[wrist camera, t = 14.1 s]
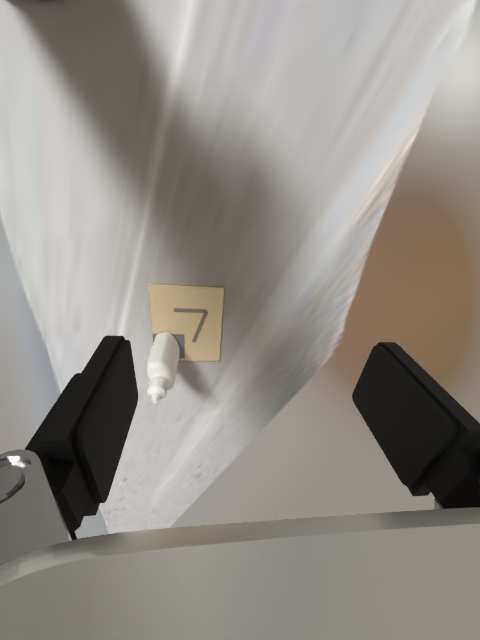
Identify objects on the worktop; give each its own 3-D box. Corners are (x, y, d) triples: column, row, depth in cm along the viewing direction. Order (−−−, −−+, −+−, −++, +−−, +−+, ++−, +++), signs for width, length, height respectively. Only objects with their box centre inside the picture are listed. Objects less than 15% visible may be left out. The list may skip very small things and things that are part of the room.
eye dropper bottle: (152, 355, 44) (133, 414, 33) (157, 328, 41) (139, 383, 31) (178, 360, 45) (168, 418, 34) (184, 334, 42) (176, 388, 32)
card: (148, 283, 37) (147, 284, 37) (224, 287, 39) (224, 288, 38) (155, 358, 44) (155, 360, 44) (219, 359, 46) (219, 361, 46)
